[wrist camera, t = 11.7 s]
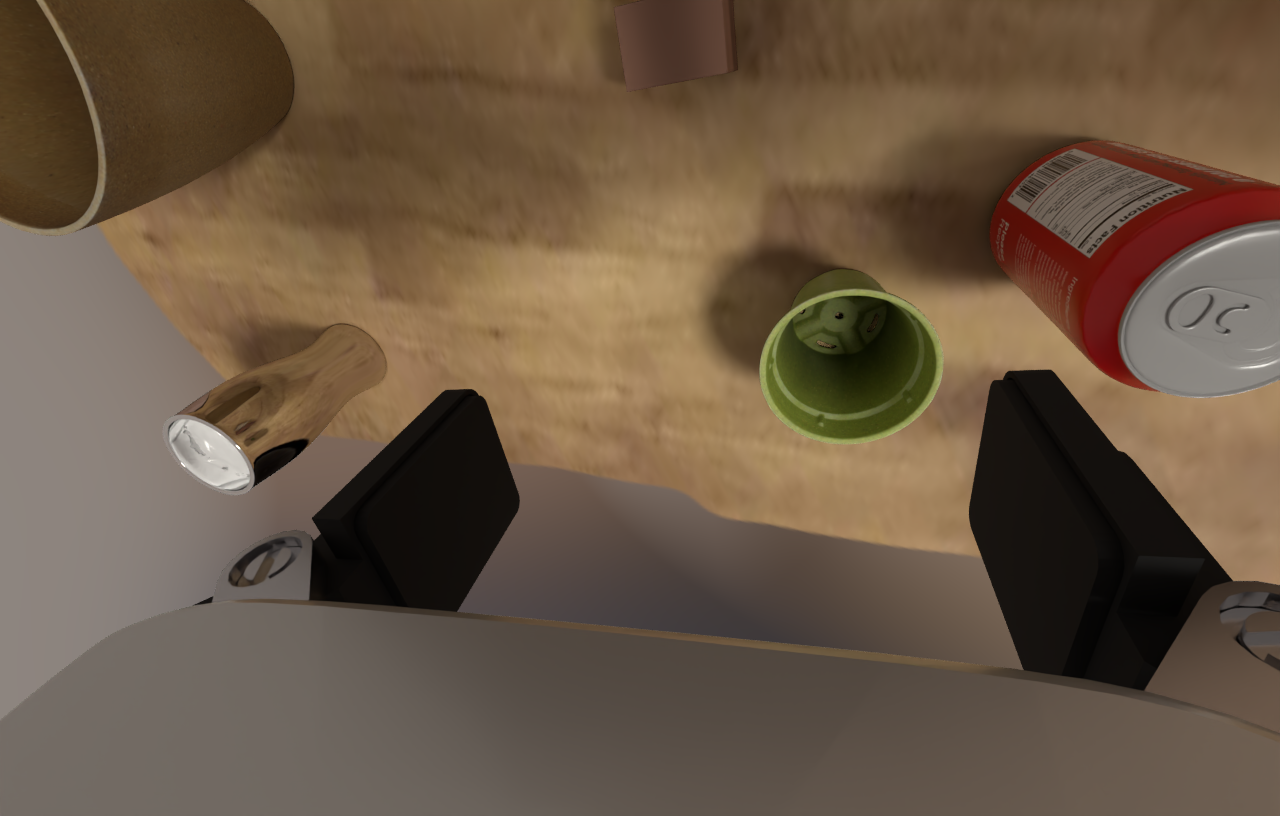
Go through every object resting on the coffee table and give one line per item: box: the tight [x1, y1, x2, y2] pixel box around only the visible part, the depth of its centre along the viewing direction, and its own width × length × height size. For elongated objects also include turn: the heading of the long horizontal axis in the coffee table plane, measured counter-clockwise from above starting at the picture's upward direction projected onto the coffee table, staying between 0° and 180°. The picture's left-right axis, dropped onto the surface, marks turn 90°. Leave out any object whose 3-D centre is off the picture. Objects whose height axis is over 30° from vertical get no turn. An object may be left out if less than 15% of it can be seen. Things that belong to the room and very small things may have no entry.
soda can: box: [989, 141, 1280, 398], centre depth 25 cm, size 8×8×15 cm
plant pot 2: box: [759, 269, 943, 444], centre depth 34 cm, size 9×9×9 cm
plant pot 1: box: [0, 0, 293, 236], centre depth 31 cm, size 15×15×16 cm
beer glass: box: [163, 324, 386, 495], centre depth 43 cm, size 7×7×15 cm
